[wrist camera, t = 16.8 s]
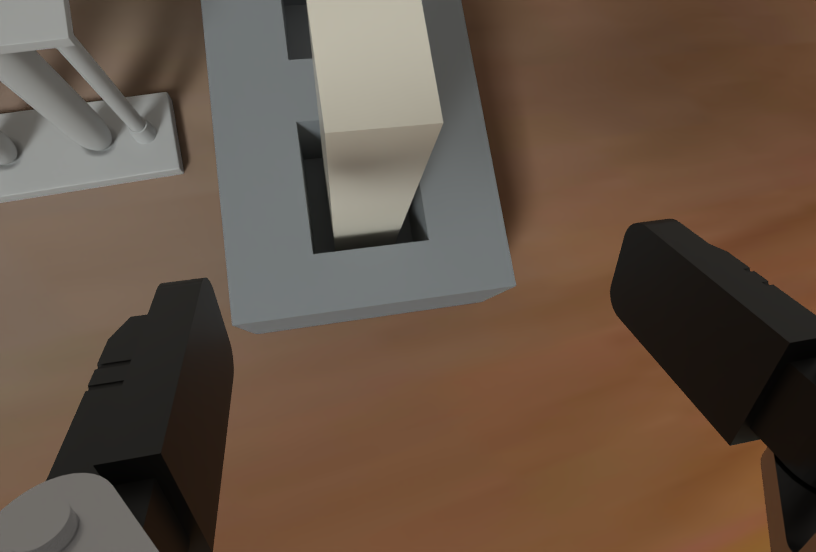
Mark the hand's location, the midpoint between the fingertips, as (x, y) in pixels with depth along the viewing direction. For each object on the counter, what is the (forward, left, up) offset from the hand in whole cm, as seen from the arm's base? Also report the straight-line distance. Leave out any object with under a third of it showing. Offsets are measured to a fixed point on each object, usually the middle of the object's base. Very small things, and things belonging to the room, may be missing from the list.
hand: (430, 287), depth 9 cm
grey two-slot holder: (0, +11, -17) cm, 20 cm away
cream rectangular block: (0, +6, -15) cm, 16 cm away
